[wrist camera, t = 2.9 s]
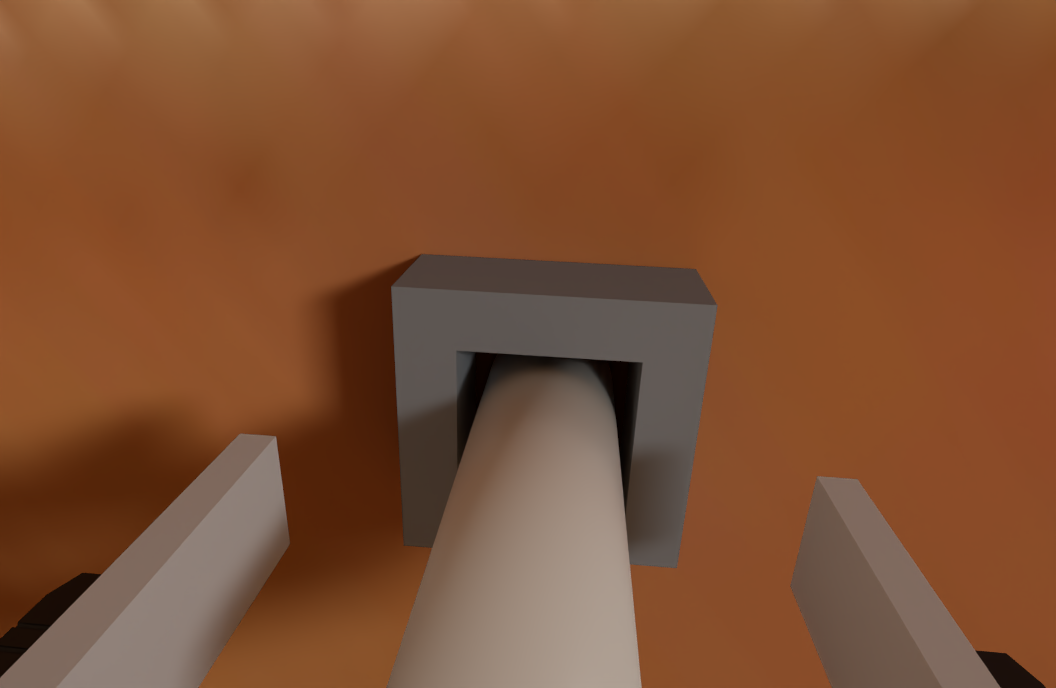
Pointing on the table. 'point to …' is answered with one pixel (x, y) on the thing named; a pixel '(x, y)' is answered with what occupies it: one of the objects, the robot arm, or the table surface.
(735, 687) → the table surface
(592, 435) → the plug
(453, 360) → the socket block
